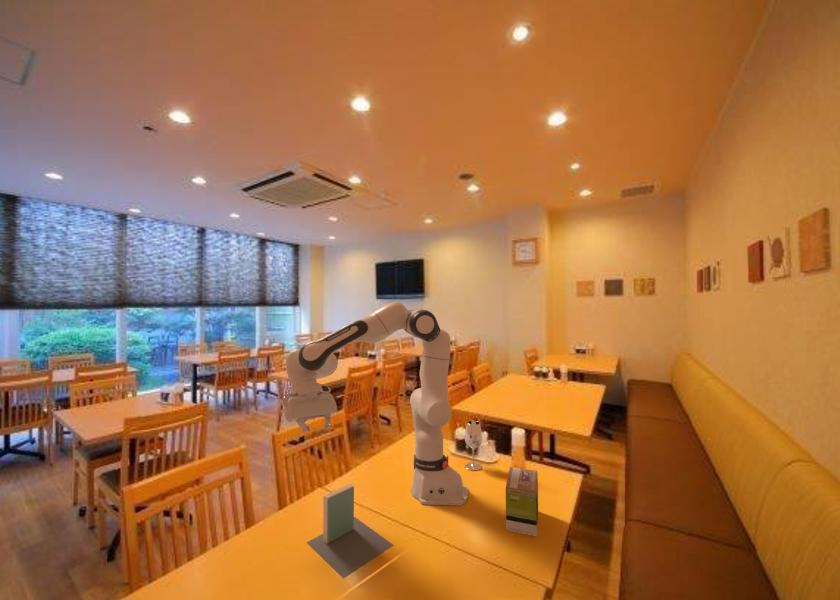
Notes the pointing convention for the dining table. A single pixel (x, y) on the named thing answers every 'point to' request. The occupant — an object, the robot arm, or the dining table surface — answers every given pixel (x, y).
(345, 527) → the glazed tile
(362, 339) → the robot arm
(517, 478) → the tea box
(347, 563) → the slate mat
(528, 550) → the dining table surface
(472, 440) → the wineglass
